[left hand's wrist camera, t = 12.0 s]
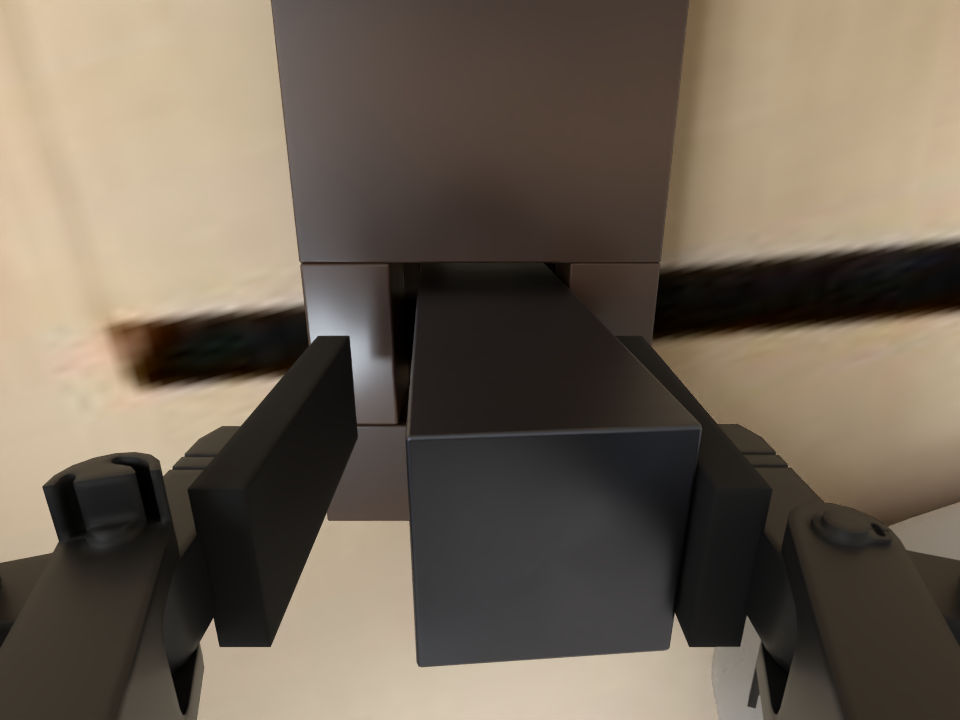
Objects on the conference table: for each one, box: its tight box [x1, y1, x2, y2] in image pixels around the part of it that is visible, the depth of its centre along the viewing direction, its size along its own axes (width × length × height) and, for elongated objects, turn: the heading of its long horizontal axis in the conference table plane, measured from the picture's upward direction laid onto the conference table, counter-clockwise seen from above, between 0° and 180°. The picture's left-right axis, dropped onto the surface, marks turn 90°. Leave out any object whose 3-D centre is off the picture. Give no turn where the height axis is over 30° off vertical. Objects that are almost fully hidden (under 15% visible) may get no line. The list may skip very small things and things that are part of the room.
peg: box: [405, 263, 702, 667], centre depth 14 cm, size 4×4×12 cm
